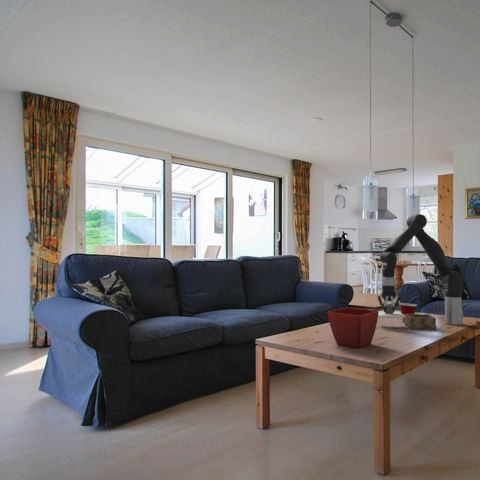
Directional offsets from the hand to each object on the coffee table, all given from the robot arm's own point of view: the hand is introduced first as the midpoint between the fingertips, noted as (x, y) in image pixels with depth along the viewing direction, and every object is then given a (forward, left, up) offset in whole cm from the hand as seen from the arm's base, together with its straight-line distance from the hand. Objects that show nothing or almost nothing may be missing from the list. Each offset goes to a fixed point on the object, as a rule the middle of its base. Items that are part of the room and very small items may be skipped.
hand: (388, 312), depth 254 cm
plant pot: (+28, +47, -9) cm, 56 cm away
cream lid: (0, 0, -2) cm, 2 cm away
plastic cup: (-16, -18, -9) cm, 26 cm away
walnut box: (-18, 0, -9) cm, 20 cm away
